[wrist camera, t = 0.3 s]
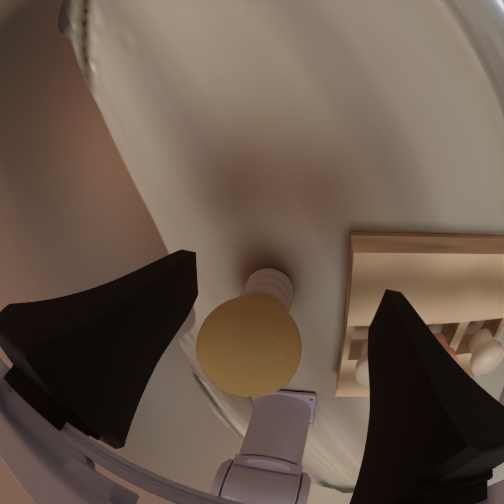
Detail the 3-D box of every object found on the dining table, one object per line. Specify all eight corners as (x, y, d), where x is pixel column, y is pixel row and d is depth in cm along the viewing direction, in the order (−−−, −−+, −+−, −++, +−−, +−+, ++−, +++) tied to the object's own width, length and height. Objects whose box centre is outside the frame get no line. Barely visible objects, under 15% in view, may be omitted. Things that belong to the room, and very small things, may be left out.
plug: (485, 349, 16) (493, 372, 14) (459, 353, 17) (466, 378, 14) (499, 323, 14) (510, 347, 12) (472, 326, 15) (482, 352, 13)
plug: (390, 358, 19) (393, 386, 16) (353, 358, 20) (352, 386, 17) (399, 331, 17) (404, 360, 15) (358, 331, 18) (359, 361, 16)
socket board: (460, 366, 21) (466, 387, 19) (336, 373, 26) (335, 396, 23) (513, 236, 14) (531, 254, 11) (350, 231, 18) (353, 252, 16)
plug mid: (442, 355, 17) (449, 381, 15) (410, 357, 18) (414, 384, 16) (455, 328, 16) (464, 354, 13) (420, 330, 17) (427, 358, 14)
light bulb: (219, 264, 22) (159, 355, 14) (289, 236, 20) (255, 339, 11) (257, 320, 24) (221, 414, 16) (323, 302, 22) (310, 410, 13)
